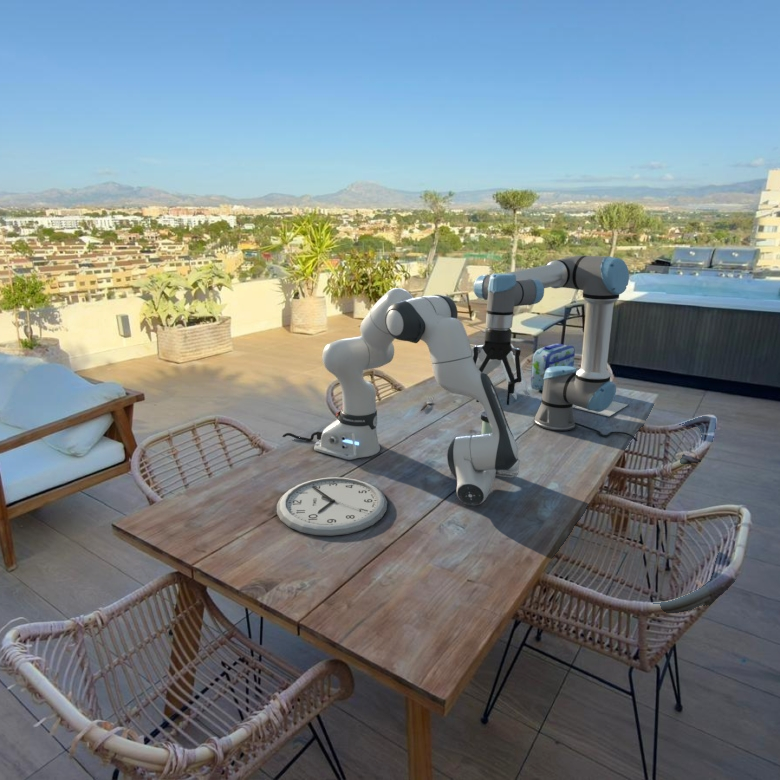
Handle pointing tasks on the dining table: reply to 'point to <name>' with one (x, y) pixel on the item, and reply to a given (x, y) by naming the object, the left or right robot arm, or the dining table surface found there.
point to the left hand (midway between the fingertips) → (488, 452)
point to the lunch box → (550, 361)
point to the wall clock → (331, 506)
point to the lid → (484, 417)
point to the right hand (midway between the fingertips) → (492, 402)
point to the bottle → (486, 428)
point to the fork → (427, 403)
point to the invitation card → (607, 409)
